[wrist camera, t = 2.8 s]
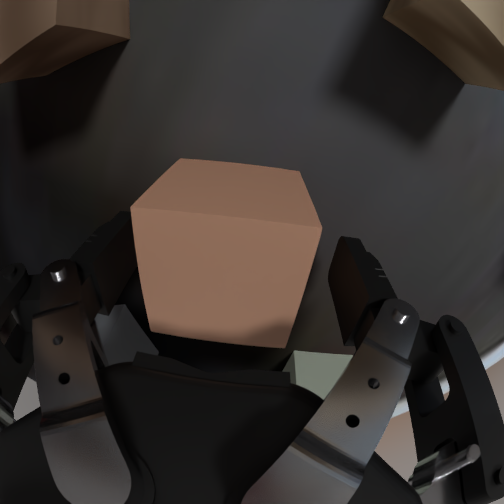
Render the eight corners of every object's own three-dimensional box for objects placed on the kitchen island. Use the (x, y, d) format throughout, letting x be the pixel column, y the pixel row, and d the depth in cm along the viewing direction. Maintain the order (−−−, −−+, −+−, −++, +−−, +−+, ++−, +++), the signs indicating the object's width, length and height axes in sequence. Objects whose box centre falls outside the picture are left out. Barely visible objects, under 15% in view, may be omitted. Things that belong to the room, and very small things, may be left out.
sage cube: (274, 383, 20) (274, 438, 16) (294, 349, 18) (298, 415, 13) (330, 386, 21) (336, 438, 17) (357, 354, 18) (370, 414, 14)
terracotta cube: (181, 255, 14) (151, 331, 9) (180, 158, 11) (130, 206, 7) (279, 266, 14) (285, 348, 10) (298, 170, 11) (322, 228, 7)
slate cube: (110, 350, 19) (90, 400, 15) (76, 308, 17) (46, 360, 12) (159, 350, 18) (142, 409, 14) (125, 303, 16) (95, 366, 12)
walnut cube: (47, 75, 8) (-29, 91, 4) (48, -1, 5) (-20, -7, 1) (131, 39, 8) (55, 24, 3) (131, -43, 5) (72, -80, 1)
